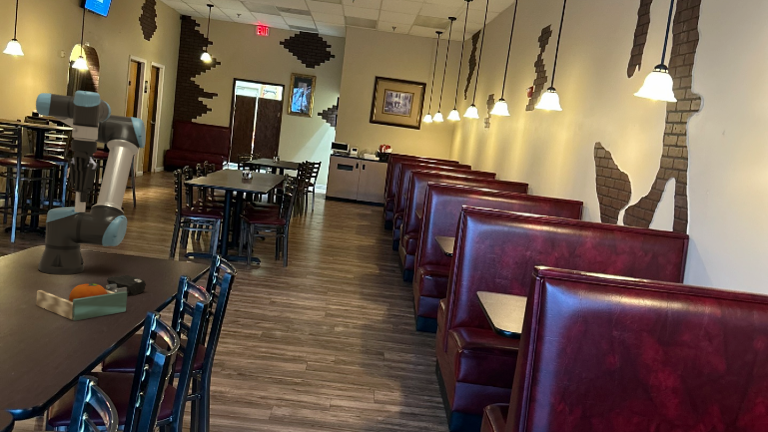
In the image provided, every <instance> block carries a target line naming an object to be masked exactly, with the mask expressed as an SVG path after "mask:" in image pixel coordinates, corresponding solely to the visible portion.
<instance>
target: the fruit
mask: <svg viewBox="0 0 768 432" xmlns="http://www.w3.org/2000/svg"><path fill="white" fill-rule="evenodd" d="M105 289H106V288H104V287H103V286H102V285H100V284H98V283H84V284H83V283H81V284H78V285H76V286H74V288H72V290H71V291H70V293H69V296H68V301H71V302H73V299H78V298H85V297H91V296H98V295H104V294H108V293H107V291H106V290H105Z"/></svg>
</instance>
